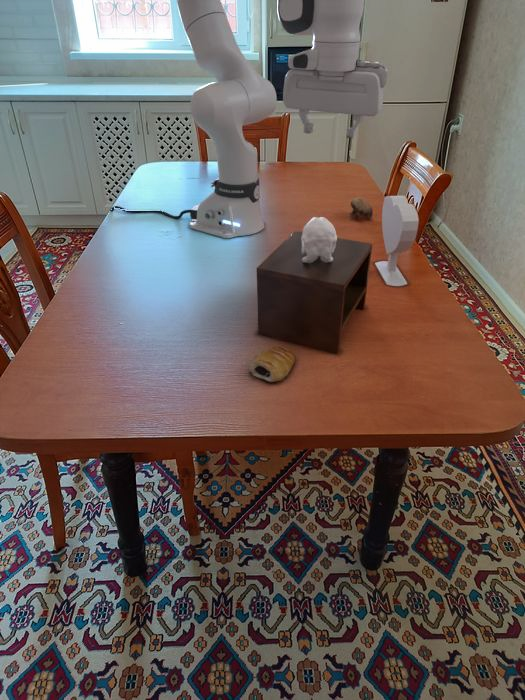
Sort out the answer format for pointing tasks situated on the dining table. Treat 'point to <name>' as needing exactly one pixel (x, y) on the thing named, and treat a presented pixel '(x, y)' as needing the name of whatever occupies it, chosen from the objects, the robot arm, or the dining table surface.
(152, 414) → the dining table surface
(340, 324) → the shelf stand
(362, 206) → the mushroom
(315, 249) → the white figurine
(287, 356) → the pastry
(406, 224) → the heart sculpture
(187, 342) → the dining table surface
